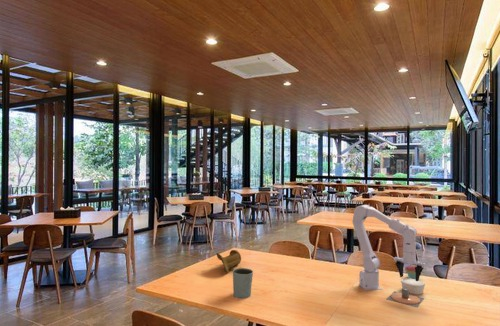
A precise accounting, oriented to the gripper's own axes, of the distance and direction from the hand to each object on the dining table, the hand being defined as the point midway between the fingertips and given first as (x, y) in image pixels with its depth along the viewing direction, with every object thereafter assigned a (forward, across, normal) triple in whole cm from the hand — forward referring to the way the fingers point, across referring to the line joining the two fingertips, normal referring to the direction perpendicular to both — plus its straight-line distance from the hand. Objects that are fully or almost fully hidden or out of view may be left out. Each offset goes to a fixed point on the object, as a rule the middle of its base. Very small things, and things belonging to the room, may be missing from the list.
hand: (409, 278), depth 165 cm
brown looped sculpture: (+9, +92, +43) cm, 102 cm away
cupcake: (+9, +11, -31) cm, 34 cm away
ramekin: (+9, +2, -8) cm, 12 cm away
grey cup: (+9, +55, +63) cm, 84 cm away
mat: (+9, 0, +6) cm, 11 cm away
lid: (+8, 0, +6) cm, 10 cm away
